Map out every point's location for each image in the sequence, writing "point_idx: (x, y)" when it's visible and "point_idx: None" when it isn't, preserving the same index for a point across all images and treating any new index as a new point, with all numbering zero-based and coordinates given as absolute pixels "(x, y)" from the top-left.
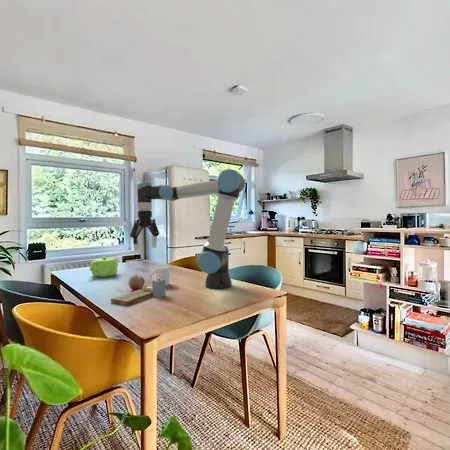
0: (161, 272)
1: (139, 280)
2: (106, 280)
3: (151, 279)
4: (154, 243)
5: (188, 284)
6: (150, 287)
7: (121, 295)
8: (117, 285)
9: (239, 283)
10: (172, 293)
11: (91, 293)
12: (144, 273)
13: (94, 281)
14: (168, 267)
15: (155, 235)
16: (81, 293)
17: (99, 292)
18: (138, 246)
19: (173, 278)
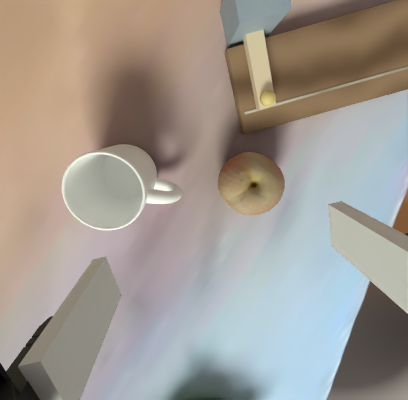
0: (133, 158)
1: (258, 158)
2: (232, 364)
3: (175, 185)
4: (95, 293)
5: (36, 86)
6: (260, 65)
7: (366, 98)
8: (248, 283)
9: None
10: (182, 9)
11: None
12: None
13: (264, 375)
14: (79, 157)
15: (16, 389)
16: None
17: None
18: (355, 215)
19: (30, 231)
